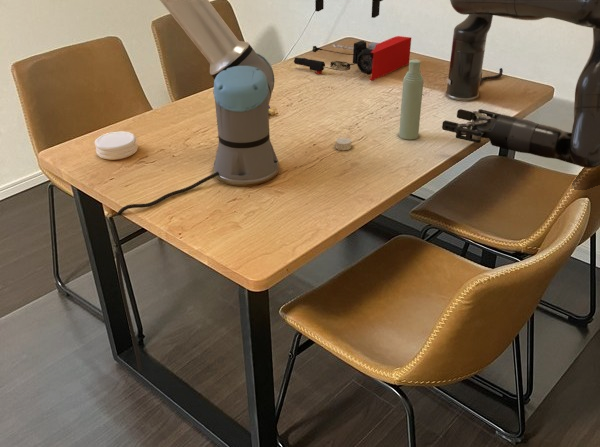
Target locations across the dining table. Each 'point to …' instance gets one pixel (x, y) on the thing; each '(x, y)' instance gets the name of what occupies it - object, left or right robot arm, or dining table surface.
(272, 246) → the dining table surface
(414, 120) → the bottle
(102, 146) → the white thick disc
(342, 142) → the cap
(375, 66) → the electric hoist
